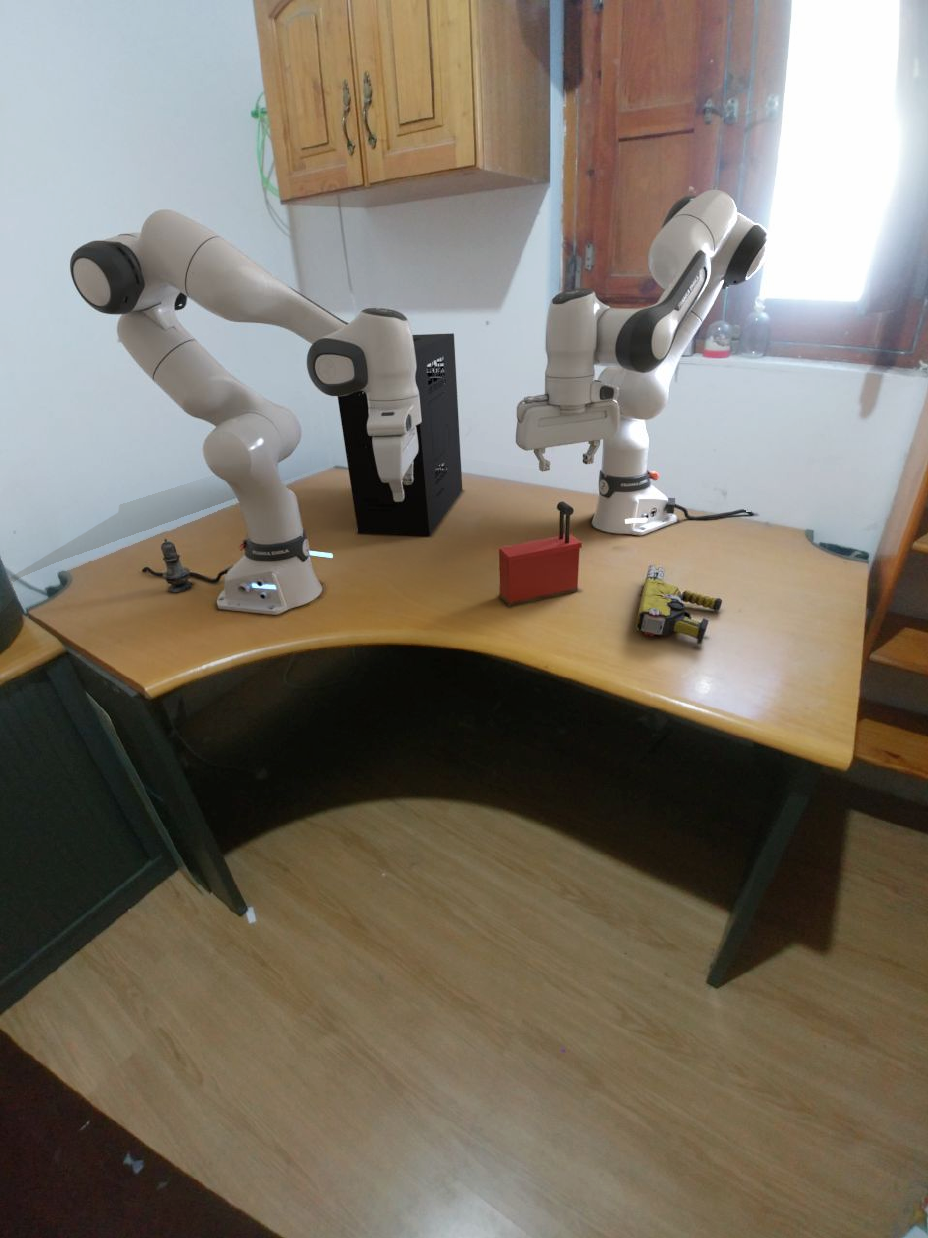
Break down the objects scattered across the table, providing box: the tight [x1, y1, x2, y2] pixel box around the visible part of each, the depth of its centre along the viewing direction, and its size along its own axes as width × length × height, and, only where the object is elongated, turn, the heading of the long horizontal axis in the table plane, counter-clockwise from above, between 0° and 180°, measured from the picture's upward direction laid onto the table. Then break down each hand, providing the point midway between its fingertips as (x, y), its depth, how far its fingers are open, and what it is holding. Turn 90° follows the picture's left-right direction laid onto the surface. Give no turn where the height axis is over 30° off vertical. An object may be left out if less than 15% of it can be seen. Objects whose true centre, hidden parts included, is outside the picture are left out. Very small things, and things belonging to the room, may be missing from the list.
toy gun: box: [635, 564, 723, 645], centre depth 117 cm, size 5×24×15 cm
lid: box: [498, 501, 583, 562], centre depth 121 cm, size 16×5×9 cm, turn 110°
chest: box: [498, 548, 580, 608], centre depth 125 cm, size 16×5×10 cm, turn 110°
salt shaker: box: [160, 538, 194, 593], centre depth 136 cm, size 6×6×12 cm
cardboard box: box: [337, 332, 463, 537], centre depth 165 cm, size 38×20×45 cm, turn 167°
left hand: (404, 491), depth 110 cm, fingers open, 8 cm apart
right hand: (566, 466), depth 116 cm, fingers open, 8 cm apart
